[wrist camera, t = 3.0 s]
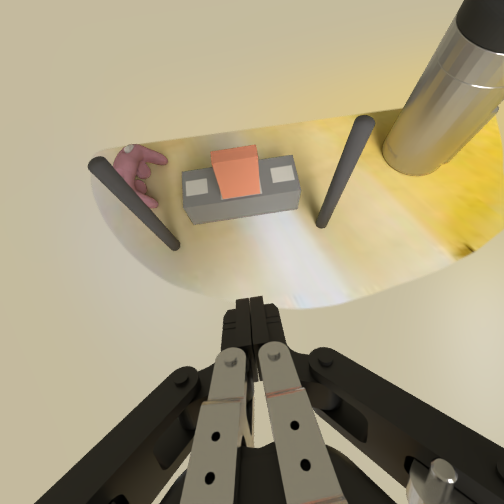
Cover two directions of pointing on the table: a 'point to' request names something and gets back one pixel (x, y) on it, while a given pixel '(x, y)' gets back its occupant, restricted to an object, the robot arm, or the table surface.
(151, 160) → the video game controller
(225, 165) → the block
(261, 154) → the table surface
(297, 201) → the breaker block
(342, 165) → the cord posts
